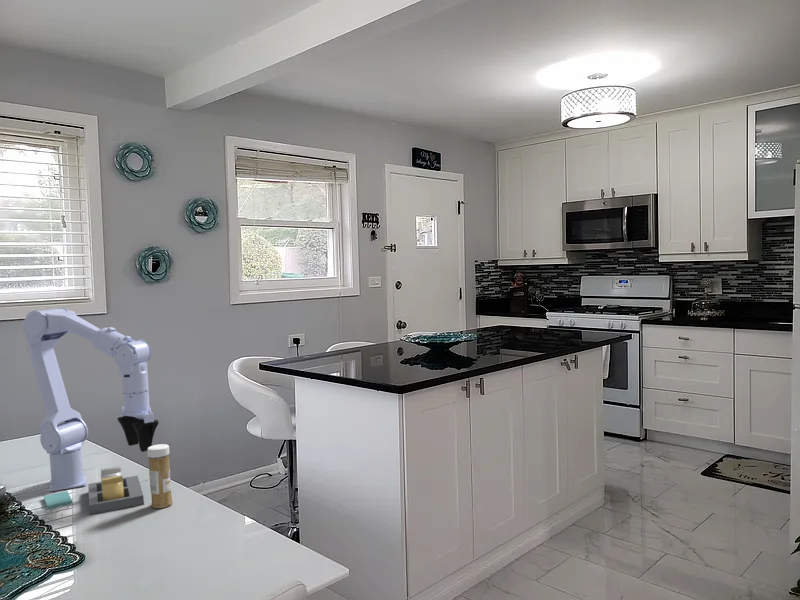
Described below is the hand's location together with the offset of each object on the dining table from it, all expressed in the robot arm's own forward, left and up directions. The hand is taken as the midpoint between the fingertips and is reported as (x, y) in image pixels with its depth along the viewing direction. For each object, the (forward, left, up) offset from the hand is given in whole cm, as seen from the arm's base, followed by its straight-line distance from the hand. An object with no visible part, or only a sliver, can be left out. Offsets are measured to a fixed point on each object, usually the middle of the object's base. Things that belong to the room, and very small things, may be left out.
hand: (139, 447), depth 153 cm
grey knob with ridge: (-2, -7, -10) cm, 12 cm away
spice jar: (+13, +3, -11) cm, 17 cm away
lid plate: (-3, -18, -10) cm, 21 cm away
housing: (+2, -6, -10) cm, 12 cm away
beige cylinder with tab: (+6, -7, -10) cm, 14 cm away
